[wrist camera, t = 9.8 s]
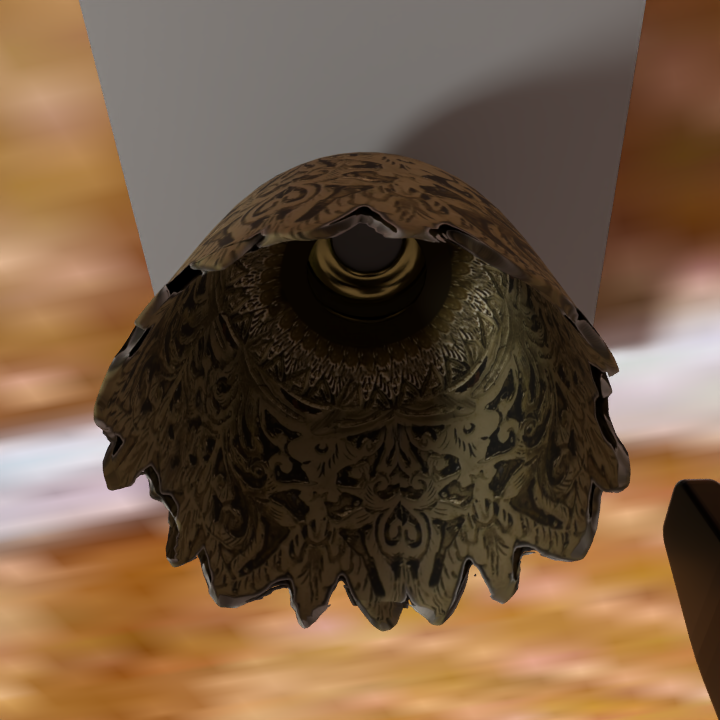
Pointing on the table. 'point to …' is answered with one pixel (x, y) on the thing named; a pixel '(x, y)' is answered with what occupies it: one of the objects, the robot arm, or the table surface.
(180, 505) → the ornate bronze lamp shade
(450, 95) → the plinth
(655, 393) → the table surface
